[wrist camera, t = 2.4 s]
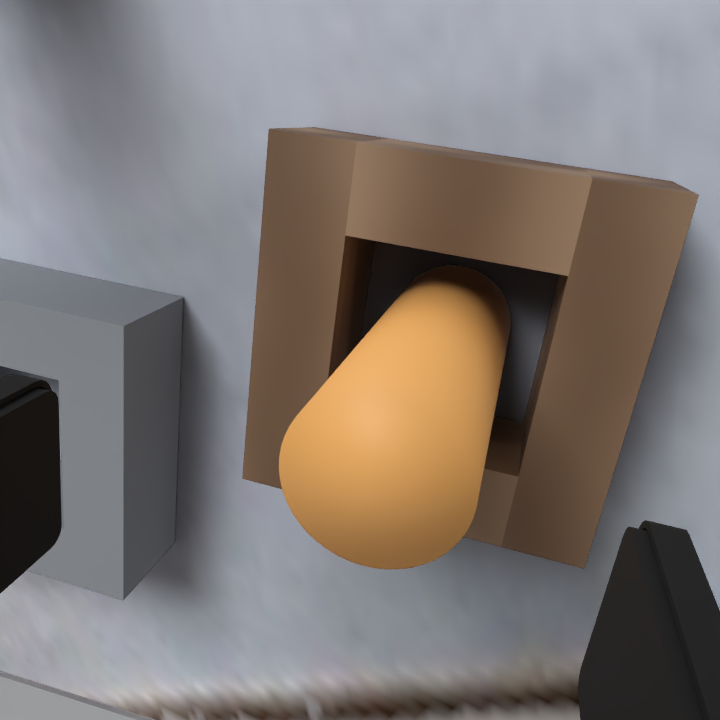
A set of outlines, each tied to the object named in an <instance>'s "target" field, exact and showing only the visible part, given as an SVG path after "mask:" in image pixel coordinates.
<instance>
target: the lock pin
mask: <svg viewBox="0 0 720 720" xmlns="http://www.w3.org/2000/svg"><path fill="white" fill-rule="evenodd" d="M510 327H511V318H510V311H509V307H508V304H507V302H506V299H505V297H504V295H503V294H502V292H501V291H500V289H499V288H498V287H497V286H496V284H495V283H493V282H492V281H491V280H490V279H489V278H488V277H486V276H485V275H483V274H482V273H480V272H478V271H476V270H473V269H471V268H467V267H463V266H441V267H437V268H433V269H431V270H428V271H426V272H424V273H422V274H421V275H419V276H418V277H417V278H415V279H414V280H413V281H412V282H411V283H410V284H409V285H408V286H407V287H406V289H405V290H404V291H403V292H402V293H401V294H400V296H399V297H398V298H397V299H396V300H395V301H394V303H393V304H392V305H391V306H390V307H389V308H388V310H387V311H386V312H385V313H384V314H383V315H382V317H381V318H380V319H379V320H378V321H377V322H376V324H375V325H374V326H373V327H372V328H371V330H370V331H369V332H368V333H367V334H366V335H365V337H364V338H363V339H362V340H361V341H360V342H359V344H358V345H357V346H356V347H355V348H354V349H353V351H352V352H351V353H350V354H349V355H348V356H347V358H346V359H345V360H344V361H343V362H342V363H341V365H340V366H339V367H338V368H337V369H336V370H335V372H334V373H333V374H332V375H331V376H330V377H329V379H328V380H327V381H326V382H325V383H324V384H323V386H322V387H321V388H320V389H319V390H318V391H317V393H316V394H315V395H314V396H313V397H312V398H311V400H310V401H309V402H308V403H307V404H306V406H305V407H304V408H303V409H302V410H301V411H300V413H299V414H298V415H297V416H296V417H295V419H294V420H293V422H292V423H291V424H290V426H289V428H288V430H287V432H286V434H285V436H284V439H283V442H282V445H281V450H280V455H279V475H280V482H281V486H282V490H283V493H284V496H285V499H286V501H287V504H288V505H289V507H290V509H291V511H292V513H293V515H294V516H295V518H296V519H297V520H298V522H299V523H300V525H301V526H302V527H303V528H304V529H305V530H306V532H307V533H308V534H309V535H310V536H312V537H313V538H314V539H315V540H316V541H317V542H318V543H319V544H321V545H322V546H324V547H325V548H326V549H328V550H329V551H331V552H333V553H334V554H336V555H338V556H340V557H342V558H344V559H346V560H348V561H351V562H354V563H357V564H360V565H363V566H368V567H372V568H379V569H405V568H412V567H416V566H420V565H423V564H426V563H428V562H431V561H433V560H435V559H437V558H439V557H441V556H442V555H444V554H445V553H447V552H448V551H449V550H451V549H452V548H453V547H454V546H455V545H456V544H457V543H458V542H459V541H460V540H461V539H462V537H463V536H464V534H465V533H466V532H467V530H468V528H469V526H470V524H471V522H472V520H473V518H474V514H475V511H476V508H477V503H478V497H479V492H480V487H481V482H482V476H483V471H484V466H485V460H486V455H487V450H488V445H489V439H490V434H491V429H492V424H493V418H494V413H495V408H496V402H497V397H498V392H499V387H500V381H501V376H502V371H503V366H504V360H505V355H506V350H507V344H508V339H509V334H510Z"/></svg>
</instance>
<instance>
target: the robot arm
mask: <svg viewBox="0 0 720 720" xmlns="http://www.w3.org/2000/svg"><path fill="white" fill-rule="evenodd" d="M61 528H62V514H61V478H60V442H59V406H58V397H57V395H56V393H54V392H53V391H52V390H51V387H50V385H49V384H48V383H47V382H46V381H43V380H39V379H35V378H30V377H26V376H22V375H17V374H10V375H7V376H4V377H2V378H0V593H1V592H2V591H4V590H5V589H6V588H7V587H8V586H9V585H10V584H11V583H13V582H14V581H15V580H16V579H17V578H18V577H19V576H21V575H22V574H23V573H24V572H25V571H26V570H27V569H28V568H30V567H31V566H32V565H33V564H34V563H35V562H36V561H37V560H39V559H40V558H41V557H42V556H43V555H44V554H45V553H46V552H48V551H49V550H50V549H51V548H52V547H53V546H54V545H55V543H56V542H57V540H58V538H59V536H60V532H61ZM578 697H579V708H580V719H581V720H720V611H719V608H718V606H717V603H716V601H715V598H714V596H713V593H712V591H711V588H710V586H709V583H708V580H707V578H706V575H705V573H704V570H703V568H702V565H701V563H700V560H699V558H698V555H697V553H696V550H695V548H694V545H693V543H692V540H691V538H690V535H689V533H688V532H687V530H684V529H681V528H676V527H672V526H668V525H663V524H659V523H655V522H650V521H646V520H645V521H644V522H642V524H641V526H640V527H639V529H637V528H633V527H628V528H627V529H626V531H625V533H624V535H623V538H622V541H621V545H620V548H619V551H618V554H617V557H616V560H615V563H614V566H613V570H612V573H611V576H610V579H609V582H608V585H607V588H606V591H605V594H604V598H603V601H602V604H601V607H600V610H599V613H598V616H597V619H596V623H595V626H594V629H593V632H592V635H591V638H590V641H589V644H588V648H587V651H586V654H585V657H584V660H583V663H582V666H581V670H580V675H579V683H578ZM0 720H154V719H151V718H148V717H144V716H141V715H138V714H135V713H132V712H129V711H126V710H123V709H119V708H116V707H113V706H110V705H107V704H104V703H101V702H97V701H94V700H91V699H88V698H85V697H82V696H78V695H75V694H72V693H69V692H66V691H63V690H60V689H56V688H53V687H50V686H47V685H44V684H41V683H37V682H34V681H31V680H28V679H25V678H22V677H18V676H15V675H12V674H9V673H6V672H3V671H0Z"/></svg>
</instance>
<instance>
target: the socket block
mask: <svg viewBox="0 0 720 720" xmlns="http://www.w3.org/2000/svg"><path fill="white" fill-rule="evenodd" d="M182 321H183V297H180V296H175V295H171V294H166V293H161V292H156V291H152V290H147V289H142V288H137V287H133V286H128V285H123V284H118V283H114V282H109V281H104V280H100V279H95V278H90V277H85V276H81V275H76V274H71V273H66V272H62V271H57V270H52V269H47V268H43V267H38V266H33V265H28V264H24V263H19V262H14V261H10V260H5V259H0V366H3V367H7V368H11V369H15V370H19V371H23V372H27V373H31V374H35V375H39V376H43V377H47V378H51V379H55V380H58V381H59V408H60V435H61V461H62V462H61V461H60V478H61V514H62V528H61V532H60V536H59V538H58V540H57V542H56V543H55V545H54V546H53V547H52V548H51V549H50V550H49V551H48V552H46V553H45V554H44V555H43V556H42V557H41V558H40V559H39V560H37V561H36V562H35V563H34V564H33V565H32V566H31V567H30V568H28V569H27V570H28V571H31V572H34V573H37V574H41V575H44V576H47V577H50V578H53V579H57V580H60V581H63V582H66V583H69V584H73V585H76V586H79V587H82V588H85V589H88V590H92V591H95V592H98V593H101V594H104V595H108V596H111V597H114V598H117V599H120V600H124V599H125V598H126V597H127V596H128V595H129V593H130V592H131V591H132V590H133V589H134V588H135V587H136V586H137V584H138V583H139V582H140V581H141V580H142V579H143V578H144V577H145V575H146V574H147V573H148V572H149V571H150V570H151V569H152V568H153V566H154V565H155V564H156V563H157V562H158V561H159V560H160V559H161V557H162V556H163V555H164V554H165V553H166V552H167V551H168V549H169V548H170V547H171V546H172V545H173V544H174V543H175V524H176V495H177V466H178V437H179V408H180V379H181V350H182Z"/></svg>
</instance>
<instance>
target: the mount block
mask: <svg viewBox="0 0 720 720" xmlns="http://www.w3.org/2000/svg"><path fill="white" fill-rule="evenodd" d="M698 196H699V195H698V194H696V193H694V192H692V191H690V190H688V189H686V188H684V187H682V186H680V185H678V184H676V183H674V182H672V181H666V180H660V179H653V178H646V177H640V176H633V175H626V174H620V173H613V172H607V171H600V170H593V169H587V168H580V167H574V166H567V165H560V164H554V163H547V162H540V161H534V160H527V159H521V158H514V157H507V156H501V155H494V154H487V153H481V152H474V151H468V150H461V149H454V148H448V147H441V146H435V145H428V144H421V143H415V142H408V141H401V140H395V139H388V138H382V137H375V136H368V135H362V134H355V133H349V132H342V131H335V130H329V129H322V128H315V127H308V128H278V129H269V134H268V148H267V161H266V174H265V187H264V201H263V214H262V227H261V240H260V253H259V267H258V280H257V293H256V306H255V320H254V333H253V346H252V359H251V373H250V386H249V399H248V412H247V426H246V439H245V452H244V465H243V479H246V480H250V481H253V482H257V483H261V484H265V485H269V486H272V487H276V488H280V489H282V486H281V482H280V475H279V455H280V450H281V445H282V442H283V439H284V436H285V434H286V432H287V430H288V428H289V426H290V424H291V423H292V422H293V420H294V419H295V417H296V416H297V415H298V414H299V413H300V411H301V410H302V409H303V408H304V407H305V406H306V404H307V403H308V402H309V401H310V400H311V398H312V397H313V396H314V395H315V394H316V393H317V391H318V390H319V389H320V388H321V387H322V386H323V384H324V383H325V382H326V381H327V380H328V379H329V377H330V376H331V375H332V374H333V373H334V372H335V370H336V369H337V368H338V367H339V366H340V365H341V363H342V362H343V361H344V360H345V359H346V358H347V356H348V355H349V354H350V353H351V352H352V351H353V349H354V348H355V347H356V346H357V345H358V344H359V342H360V341H361V334H362V327H363V320H364V313H365V305H366V298H367V291H368V284H369V276H370V269H371V262H372V255H373V247H374V241H379V242H384V243H390V244H395V245H401V246H406V247H411V248H417V249H422V250H428V251H433V252H439V253H444V254H450V255H455V256H461V257H466V258H472V259H477V260H483V261H488V262H494V263H499V264H505V265H510V266H516V267H521V268H527V269H532V270H538V271H543V272H549V273H554V274H559V278H558V282H557V286H556V290H555V294H554V298H553V302H552V307H551V311H550V315H549V319H548V323H547V327H546V331H545V335H544V339H543V344H542V348H541V352H540V356H539V360H538V364H537V368H536V372H535V377H534V381H533V385H532V389H531V393H530V397H529V401H528V405H527V409H526V414H525V418H524V422H523V423H521V422H517V421H512V420H508V419H503V418H499V417H495V416H494V418H493V424H492V429H491V434H490V439H489V445H488V450H487V455H486V460H485V466H484V471H483V476H482V482H481V487H480V492H479V497H478V503H477V508H476V511H475V514H474V518H473V520H472V522H471V524H470V526H469V528H468V530H467V532H466V533H465V534H464V536H463V537H466V538H470V539H473V540H477V541H481V542H485V543H489V544H492V545H496V546H500V547H504V548H508V549H511V550H515V551H519V552H523V553H526V554H530V555H534V556H538V557H542V558H545V559H549V560H553V561H557V562H561V563H564V564H568V565H572V566H576V567H580V568H583V569H584V568H585V564H586V561H587V558H588V555H589V551H590V548H591V545H592V542H593V538H594V535H595V532H596V529H597V525H598V522H599V519H600V516H601V512H602V509H603V506H604V503H605V499H606V496H607V493H608V489H609V486H610V483H611V480H612V476H613V473H614V470H615V467H616V463H617V460H618V457H619V454H620V450H621V447H622V444H623V441H624V437H625V434H626V431H627V428H628V424H629V421H630V418H631V415H632V411H633V408H634V405H635V401H636V398H637V395H638V392H639V388H640V385H641V382H642V379H643V375H644V372H645V369H646V366H647V362H648V359H649V356H650V353H651V349H652V346H653V343H654V340H655V336H656V333H657V330H658V327H659V323H660V320H661V317H662V313H663V310H664V307H665V304H666V300H667V297H668V294H669V291H670V287H671V284H672V281H673V278H674V274H675V271H676V268H677V265H678V261H679V258H680V255H681V252H682V248H683V245H684V242H685V239H686V235H687V232H688V229H689V225H690V222H691V219H692V216H693V212H694V209H695V206H696V203H697V199H698Z"/></svg>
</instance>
